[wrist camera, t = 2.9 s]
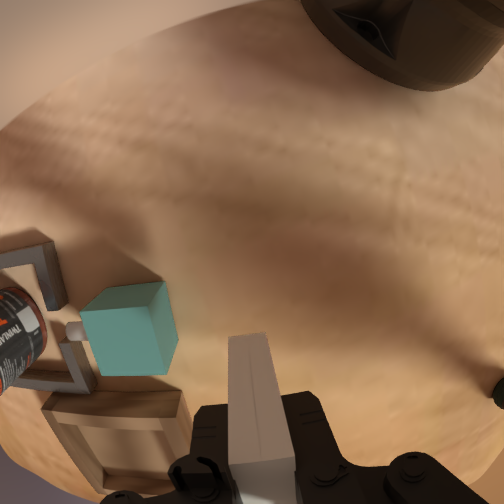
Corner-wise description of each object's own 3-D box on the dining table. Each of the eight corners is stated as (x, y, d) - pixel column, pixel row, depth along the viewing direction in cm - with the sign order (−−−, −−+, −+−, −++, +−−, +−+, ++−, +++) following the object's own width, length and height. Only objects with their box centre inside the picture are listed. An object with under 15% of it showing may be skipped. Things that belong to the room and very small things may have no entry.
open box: (182, 390, 20) (175, 417, 17) (213, 478, 22) (212, 502, 19) (55, 388, 20) (40, 409, 17) (105, 472, 22) (97, 493, 19)
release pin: (164, 280, 18) (147, 306, 14) (178, 339, 19) (166, 374, 15) (75, 291, 18) (45, 314, 14) (92, 344, 19) (67, 374, 15)
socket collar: (53, 241, 17) (41, 245, 16) (97, 383, 20) (90, 394, 18) (-34, 260, 17) (-45, 265, 15) (5, 375, 19) (-3, 383, 18)
